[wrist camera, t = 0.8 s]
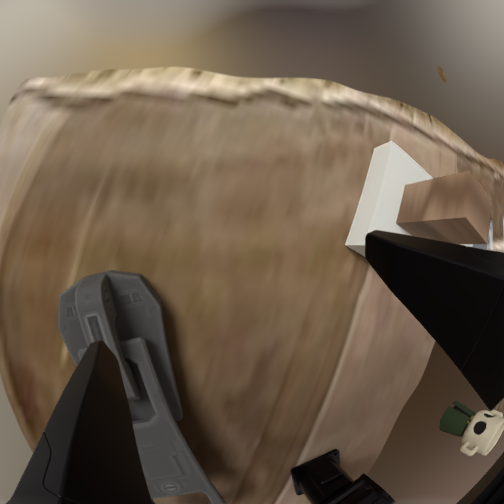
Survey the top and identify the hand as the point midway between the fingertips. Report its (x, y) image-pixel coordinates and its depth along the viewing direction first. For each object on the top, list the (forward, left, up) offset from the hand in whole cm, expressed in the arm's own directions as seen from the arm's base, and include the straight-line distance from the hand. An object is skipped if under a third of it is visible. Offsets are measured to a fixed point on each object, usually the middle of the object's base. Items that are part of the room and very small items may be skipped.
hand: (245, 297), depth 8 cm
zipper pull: (-11, +8, -16) cm, 21 cm away
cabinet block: (0, -22, -12) cm, 25 cm away
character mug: (-37, -35, -15) cm, 54 cm away
